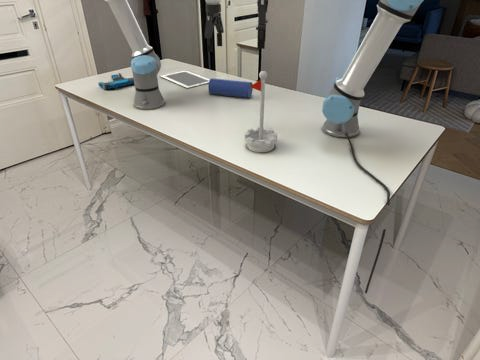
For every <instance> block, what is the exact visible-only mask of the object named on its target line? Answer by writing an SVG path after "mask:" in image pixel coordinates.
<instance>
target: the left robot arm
mask: <svg viewBox="0 0 480 360" xmlns="http://www.w3.org/2000/svg"><path fill="white" fill-rule="evenodd" d="M103 1H105V2H106V3H108V5H109V7H110V9H111V11H112V13H113V16H114V17H115V20H116V21H117V23H118V25H119V28H120V29H121V32H122V33H123V35H124V37H125V39H126V41H127V43H128V45H129V47H130V49H131V51H132V53H131V61H130V64H131V65H130V68H131V69H130V70H131V72H132V73H131V74H132V78H133V79H134V83H133V84H132V85H134V88H135V93H134V100H133V105H134V108H136V109H138V110H155V109H159V108H161V107H163V106H164V105H165V99H164V97H163V94H162V92H161V90H160V86H159V79H158V76H159V75H158V74H159V72H160V71H161V68H162V67H161V66H162V64H161V63H162V62H161V59H160V57H159V55H158V54H156V53H155V50H154V47H153V46H151V45H149V44H148V41H147V40H146V38H145V35H144V34H143V31H142V29H141V27H140V25H139V23H138V21H137V19H136V17H135V15H134V12H133V10H132V8H131V6H130V4H129V1H128V0H103ZM205 3H206V4H205V13H206V14H208V15H206V17H205V27H204V36H203V37H204V38H205V39H206V51H207V52H209V53H213V52H214V46H213V37H212V36H213V32H214V28H215V29H216V32H217V33H216V46H217V47H223V34H224V33H225V31H224V24H223V20H222V13H221V12H222V4H221V3H222V0H205ZM118 76H119V77H121V78H123V79H124V78H125V77H123V76H122V74H121V73H120V72H118Z"/></svg>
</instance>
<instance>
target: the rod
mask: <svg viewBox="0 0 480 360" xmlns="http://www.w3.org/2000/svg"><path fill="white" fill-rule="evenodd" d="M209 79H210V81H209V83H208V84H207V85H208V86H207V87H208V94H210V95H217V96H226V97H227V96H228V97H235V98H237V97H238V98H243V99H251V98H252V96H253V91H254V88H251V87H250V86H252V85H253V84H254V83H253V82H252V81H245V80H235V79H225V78H223V79H222V78H213V77H211V78H209Z"/></svg>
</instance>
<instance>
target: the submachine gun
mask: <svg viewBox="0 0 480 360" xmlns="http://www.w3.org/2000/svg"><path fill="white" fill-rule="evenodd" d="M110 77H111V79H112V80H111V81H108V82H102V81H100V82H98V83H97V84H98V86H99V87H100V88H102V89H103V90H110V89H116V90H117V89H118V88H120V87H123V86H128V85H134V84H133V83H134V79H133V77H129V78H126V77H123V78H124V79H123V78H121V77H120V76H119V74H112V75H110Z"/></svg>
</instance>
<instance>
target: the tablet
mask: <svg viewBox="0 0 480 360" xmlns="http://www.w3.org/2000/svg"><path fill="white" fill-rule="evenodd" d="M159 77H160V78H162V79H165V80H167V81H169V82H171V83H174V84H176V85H178V86H181V87H183V88H185V89H191V88H195V87H198V86H203V85H208V84H209V81H210V79H211V78H207V77H204V76H202V75H199V74H197V73H194V72H192V71H188V70H181V71H175V72H171V73H167V74H163V75H159Z"/></svg>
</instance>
